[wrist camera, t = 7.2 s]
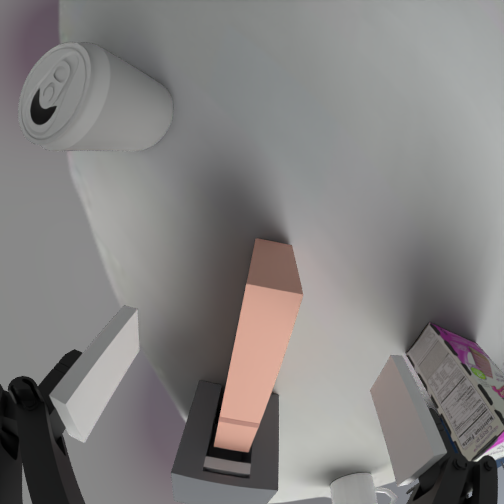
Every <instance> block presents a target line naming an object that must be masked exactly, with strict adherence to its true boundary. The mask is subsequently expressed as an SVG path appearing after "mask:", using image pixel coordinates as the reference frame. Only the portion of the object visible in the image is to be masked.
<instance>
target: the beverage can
mask: <svg viewBox="0 0 504 504" xmlns="http://www.w3.org/2000/svg"><path fill="white" fill-rule="evenodd" d="M173 110H174V108H173V101H172V97H171V95H170V93H169V92H168V90H167V89H166V88H165V87H164V86H163V85H162V84H160V83H159V82H157V81H156V80H154V79H152V78H151V77H149V76H148V75H146V74H145V73H143V72H142V71H140V70H138V69H137V68H135V67H134V66H132V65H130V64H129V63H127V62H125V61H124V60H122V59H120V58H119V57H117V56H115V55H114V54H112V53H110V52H108V51H107V50H105V49H103V48H101V47H99V46H98V45H96V44H93V43H88V42H84V43H74V42H67V43H63V44H60V45H58V46H55V47H54V48H52V49H51V50H49V51H48V52H47V53H46V54H45V55H43V56H42V57H41V58H40V59H39V61H38V62H37V63H36V64H35V65H34V67H33V69H32V70H31V72H30V73H29V75H28V77H27V79H26V81H25V83H24V86H23V88H22V91H21V95H20V99H19V106H18V118H19V125H20V128H21V131H22V133H23V135H24V136H25V138H26V139H27V140H28V141H30V142H31V143H33V144H37V145H40V146H41V147H42V148H44V149H46V150H49V151H142V150H145V149H148V148H150V147H152V146H153V145H155V144H156V143H157V142H159V141H160V140H161V139H162V138H163V136H164V135H165V134H166V132H167V130H168V129H169V127H170V124H171V122H172V118H173Z"/></svg>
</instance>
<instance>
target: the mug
mask: <svg viewBox="0 0 504 504" xmlns="http://www.w3.org/2000/svg"><path fill="white" fill-rule="evenodd" d="M330 488H331V497H332V504H378V502H377V497H376V493H375V492H382V493H386V494H387V495H388V496H389V497H390V498H391V499H392V500H391V502H390V504H395V502H396V500H397V496H396V495H395V494H394V493H393V492H392V491H391V490H390V489H386V488H374V483H373V479H372V475H371V474H369V473H355V474H350V475H347V476H344V477H341V478H339V479H337V480H335V481H333V482H332V483H331V485H330Z"/></svg>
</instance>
